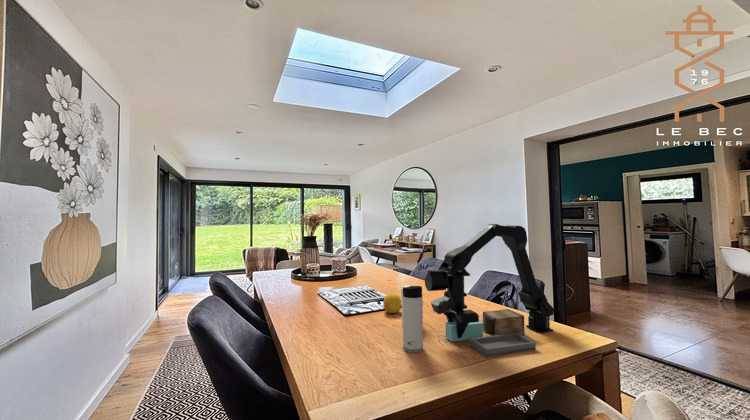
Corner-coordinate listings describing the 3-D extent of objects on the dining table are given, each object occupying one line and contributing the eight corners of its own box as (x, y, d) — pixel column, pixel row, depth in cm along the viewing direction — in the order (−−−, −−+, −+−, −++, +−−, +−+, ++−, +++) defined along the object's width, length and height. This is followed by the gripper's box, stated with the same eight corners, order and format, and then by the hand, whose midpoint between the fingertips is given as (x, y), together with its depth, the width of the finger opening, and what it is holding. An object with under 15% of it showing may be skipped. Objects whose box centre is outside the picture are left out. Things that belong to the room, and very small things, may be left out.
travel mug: (411, 355, 91) (410, 288, 91) (399, 347, 97) (398, 284, 97) (427, 350, 94) (426, 286, 94) (415, 343, 99) (414, 282, 100)
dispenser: (508, 328, 112) (508, 309, 112) (524, 336, 104) (524, 315, 105) (481, 331, 109) (481, 311, 109) (495, 339, 102) (495, 318, 102)
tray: (516, 339, 102) (516, 332, 102) (535, 349, 94) (535, 342, 94) (470, 345, 97) (470, 338, 97) (486, 357, 89) (486, 349, 89)
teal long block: (476, 333, 106) (476, 319, 107) (483, 338, 103) (482, 323, 103) (445, 337, 103) (445, 322, 104) (451, 341, 100) (451, 326, 100)
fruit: (381, 310, 135) (380, 292, 136) (398, 308, 137) (397, 291, 138) (386, 316, 127) (386, 297, 127) (404, 314, 129) (404, 296, 129)
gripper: (422, 284, 110) (423, 328, 109) (447, 297, 92) (448, 349, 91) (450, 283, 113) (450, 325, 112) (479, 295, 94) (480, 345, 94)
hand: (456, 335), depth 102 cm, fingers closed on teal long block, 4 cm apart
